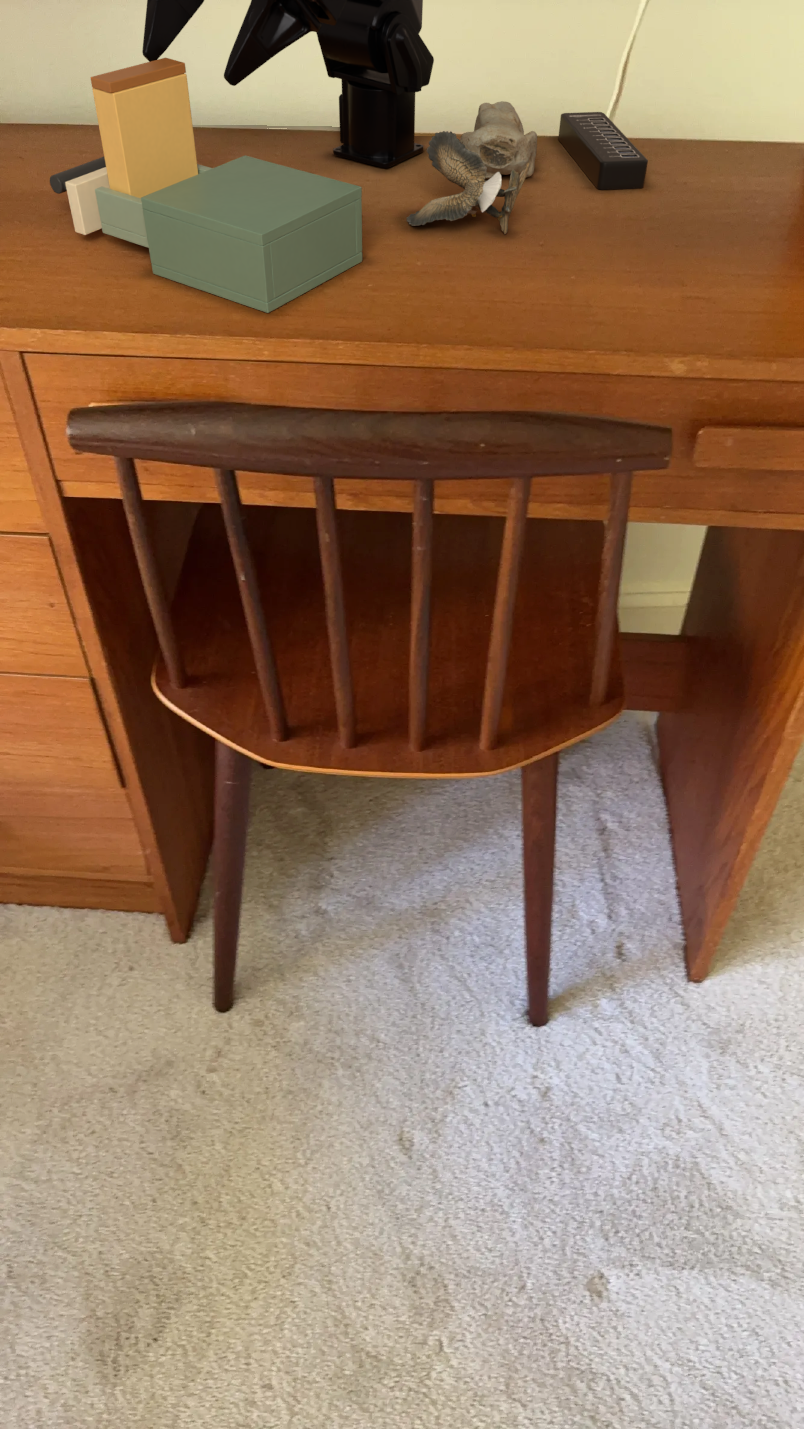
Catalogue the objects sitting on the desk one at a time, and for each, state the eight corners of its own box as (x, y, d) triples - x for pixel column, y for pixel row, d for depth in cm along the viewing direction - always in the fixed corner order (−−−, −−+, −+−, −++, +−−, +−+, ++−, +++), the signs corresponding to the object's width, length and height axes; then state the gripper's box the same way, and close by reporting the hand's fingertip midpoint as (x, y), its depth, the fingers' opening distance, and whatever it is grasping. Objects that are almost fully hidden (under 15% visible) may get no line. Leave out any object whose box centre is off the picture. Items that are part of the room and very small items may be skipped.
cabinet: (152, 273, 80) (140, 197, 76) (251, 227, 87) (244, 154, 83) (268, 313, 75) (261, 234, 71) (362, 261, 82) (361, 186, 78)
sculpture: (453, 144, 104) (458, 185, 93) (458, 90, 101) (464, 125, 90) (523, 150, 105) (537, 191, 93) (530, 96, 102) (546, 131, 90)
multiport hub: (598, 189, 94) (601, 162, 92) (557, 138, 104) (559, 112, 102) (645, 187, 94) (649, 160, 93) (599, 136, 104) (603, 110, 103)
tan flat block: (182, 195, 86) (164, 56, 79) (203, 202, 85) (186, 62, 78) (113, 219, 82) (88, 76, 75) (134, 227, 81) (110, 82, 74)
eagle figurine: (526, 196, 89) (428, 162, 90) (535, 136, 82) (430, 100, 83) (495, 271, 88) (396, 237, 89) (502, 217, 81) (395, 180, 82)
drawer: (34, 218, 85) (23, 168, 82) (127, 182, 91) (119, 135, 88) (170, 264, 79) (162, 212, 76) (259, 222, 85) (255, 172, 82)
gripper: (123, -236, 75) (33, -26, 77) (312, -219, 66) (205, 16, 68) (216, -111, 85) (134, 73, 87) (391, -82, 76) (296, 120, 78)
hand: (187, 69), depth 80 cm, fingers open, 9 cm apart
